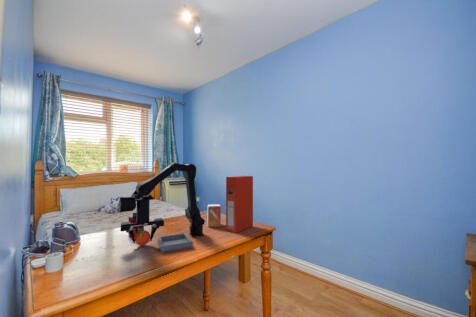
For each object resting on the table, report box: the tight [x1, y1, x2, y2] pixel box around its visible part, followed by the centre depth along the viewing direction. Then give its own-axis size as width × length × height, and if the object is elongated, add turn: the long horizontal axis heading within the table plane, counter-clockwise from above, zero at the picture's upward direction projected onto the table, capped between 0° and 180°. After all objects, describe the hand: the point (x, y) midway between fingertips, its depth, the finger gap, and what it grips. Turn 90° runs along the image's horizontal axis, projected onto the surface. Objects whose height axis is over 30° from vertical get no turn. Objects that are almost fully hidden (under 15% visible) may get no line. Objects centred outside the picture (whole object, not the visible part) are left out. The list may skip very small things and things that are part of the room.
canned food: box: [127, 213, 145, 238], centre depth 117 cm, size 8×8×11 cm
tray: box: [156, 232, 194, 254], centre depth 104 cm, size 14×14×3 cm
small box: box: [206, 203, 222, 228], centre depth 137 cm, size 8×6×13 cm
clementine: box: [134, 229, 151, 247], centre depth 102 cm, size 8×7×7 cm
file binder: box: [225, 175, 254, 234], centre depth 131 cm, size 8×17×32 cm, turn 143°
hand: (142, 242), depth 102 cm, fingers closed on clementine, 7 cm apart
